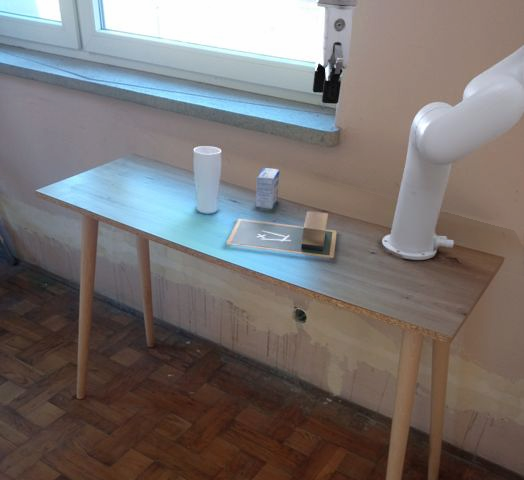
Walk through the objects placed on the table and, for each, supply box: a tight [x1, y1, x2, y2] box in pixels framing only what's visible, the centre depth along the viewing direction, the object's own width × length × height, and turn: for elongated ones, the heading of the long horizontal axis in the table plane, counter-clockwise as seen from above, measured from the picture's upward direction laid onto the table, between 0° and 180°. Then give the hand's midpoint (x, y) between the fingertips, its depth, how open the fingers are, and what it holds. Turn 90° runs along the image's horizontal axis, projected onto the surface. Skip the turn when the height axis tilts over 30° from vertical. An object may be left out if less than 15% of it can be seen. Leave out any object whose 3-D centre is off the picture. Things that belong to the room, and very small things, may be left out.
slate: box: [225, 218, 338, 259], centre depth 129 cm, size 24×15×1 cm, turn 81°
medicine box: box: [255, 167, 280, 210], centre depth 144 cm, size 8×4×9 cm, turn 168°
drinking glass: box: [192, 145, 222, 215], centre depth 136 cm, size 7×7×15 cm
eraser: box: [301, 210, 329, 251], centre depth 126 cm, size 5×10×5 cm, turn 171°
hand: (324, 97), depth 113 cm, fingers open, 9 cm apart
